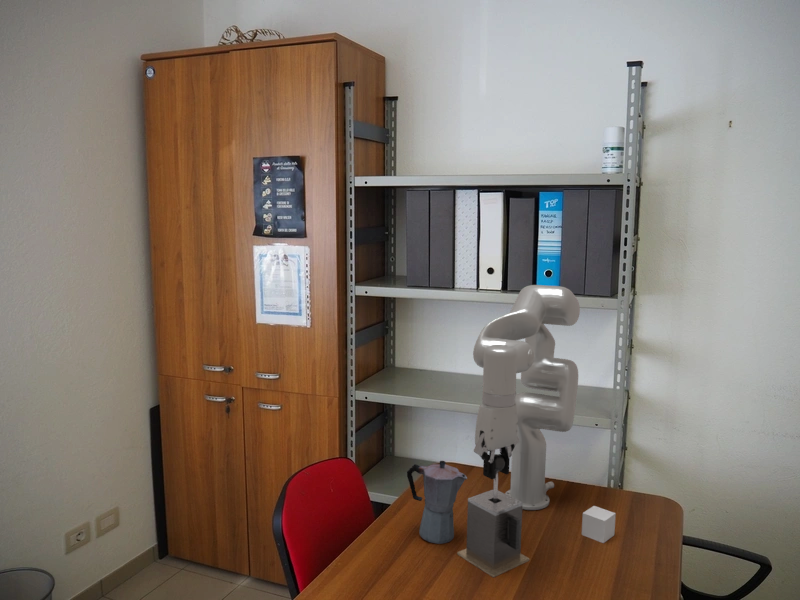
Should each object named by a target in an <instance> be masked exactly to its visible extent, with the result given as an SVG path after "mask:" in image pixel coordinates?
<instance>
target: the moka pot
mask: <svg viewBox="0 0 800 600" xmlns="http://www.w3.org/2000/svg"><path fill="white" fill-rule="evenodd" d="M414 472H416V473H417V474H419V475H422V476H423V494H424V507H423V508H424V509H423V510H422V511H423V512H422V517H421V521H420V525H419V531H418V532H419V533H418V534H419V536H420V537H421V538H422V539H423V540H425V541H427V542H428V543H431V544H439V545H442V544H447V543H450V542H451V541H453V539H454V537H455V529H454V528H455V527H454V526H455V525H454V511H453V510H454V504H455V502H456V499H457V495H458V492H459V490H460V489H461V487H462V486H463V483H465V481H466V480H468V477H467V475H466V474H465V473H463V472H460V470H459V469H458V467H454V466H451V465H448V464H446V461H445V460H440V461H439V464H438V463H437V464H436V463H435V464H430V465H428V466H425V465H418V464H413V465H412V466H411V467H410V468H409V469H408V470H407V471H406V476H407V481H408V483H409V487H410V489H411V490H410V491H411V494H412V495H411V496H412V499H413V500H416V501H418V502H422V501H423V497H422V496H418V494H417V491H416V486H415V482H414V478H413V475H412V474H413V473H414Z"/></svg>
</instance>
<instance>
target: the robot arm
mask: <svg viewBox="0 0 800 600" xmlns="http://www.w3.org/2000/svg"><path fill="white" fill-rule="evenodd" d="M580 308H581V307H580V302H579V300H578V298H577V297H576V295H575V294H574V292H572V291H571V289H569V288H567V287H565V286H559V285H545V284H544V285H542V284H531V285H527V286H525V287H523V288H521V290H520V291H519V293H518V295H517V297H516V299H515V301H514V302H513V305H512V307H511V309H510V312H509V313H508V312H507V313H506V314H504V315H502V316H499V317H497V318H496V319H493V320H491V321H490V322H488V323H486V324H485V325H484V327H483V328H482V329H481V331H480V334H479V335H478V337H477V339H476V341H475V344H474V347H473V352H472V353H473V354H472V355H473V357H472V358H473V361H474V362H475V364H476V365H477V366H478V367H479V368H482V369H483V372H482V374H483V375H482V396H481V397H482V398H481V399H482V400H481V401H482V402H481V404H480V405H479V408H478V412H477V417H476V422H475V430H474V444H475V446H474V449H473V452H474V453H475V454H477V455H478V456H479V457H480V458H481V460H483V463H482V464H483V468H482V469H483V470H482V472H483V476H484V477H486V478H488V479H491V480H494V478H495V462H493V460H494V454H496V450H498V449H499V453H497V454H498V455H501V456H502V457H503V458H504V460H505V467H504V469H503V470H501V471H499V472H500V473H502V474H505V475H509V474H510V488H509V489H508V490H507V491H505V493H504V494H507V495H509V496H511V497H513V498H515V499H517V500H519V501H521V502H523V505H522V510H527V511H536V510H538V511H539V510H542V509H545V508H547V507H548V506H549V505H550V497H549V495H548V494H547V491H549V490H551V489H554V488H555V483H554V482H553V481H548V482H546V461H547V459H546V458H547V440H546V438H545V436H544V434H543V432H542V431H541V430H546V431H552V432H559V433H560V432H561V433H566V432H569V431H570V430H571V429H572V427H573V424H574V421H575V414H576V412H575V411H576V403H577V394H578V387H579V368H578V365H577V364H576V363H575V362H574V361H573V360H570V359H566V358H559V357H558V358H557V357H555V348H556V341H555V340H556V339H555V338H554V336H553V334H552V333H551V331H550V330H549V329H548V328H547V326H546V325H553V326H564V327H565V326H566V327H570V326H574V325H575V324H576V323H577V322H578V320H579V319H580V318H579V317H580V313H581V312H580V311H581V309H580ZM523 339H525V341H524V340H523ZM519 373H520V381H521V385H523V386H524V387H525V388H528V389H533V390H537V391H538V390H539V391H544V392H545V391H547V392H555V393H557V394H558V395H549V394H541V393H535V392H520V393H517V390H516V389H517V374H519ZM488 452H489V453H488ZM510 458H511V466H510ZM510 467H511V468H510Z"/></svg>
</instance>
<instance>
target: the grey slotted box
mask: <svg viewBox="0 0 800 600" xmlns="http://www.w3.org/2000/svg"><path fill="white" fill-rule="evenodd" d="M522 505H523V502H521V501H519V500H517V499H515V498H513V497H511V496H509V495H507V494H505V493H504V492H502V491H500V490H498V495H497V503H493V489H490V490H488V491H485V492H482V493H479V494H476V495H474V496H471V497H468V498H467V517H466V522H467V524H466V548H465V549H461V550H459V551H457V553H456V554H457V556H459V557H461V558H462V559H464V560H465V561H467V562H468V563H470V564H471V565H473V566H475V567H476V568H478V569H479V570H480V571H483V572H484V573H486V574H487V575H489V576H490V577H492V578H496V577H497V576H500V575H502V574H504V573H506V572H509V571H511V570H513V569H514V568H517V567H519V566H520V565H523V564H525V563H528V562H529V561H530V557H528V556H526V555H524V554H522V553H521V551H522V550H521V548H522V524H523V509H522Z"/></svg>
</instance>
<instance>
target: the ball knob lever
mask: <svg viewBox="0 0 800 600" xmlns="http://www.w3.org/2000/svg"><path fill="white" fill-rule="evenodd" d="M498 454H499V453H497V454H496V453H495V454H494V460H493V462H495V478H494V479H493V489H492V490H493V503H497V495H498V491H499V472H500V471H501V470H503V469H504V467H505V460H504V458H503V457H502V456H501V455H498Z"/></svg>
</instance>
